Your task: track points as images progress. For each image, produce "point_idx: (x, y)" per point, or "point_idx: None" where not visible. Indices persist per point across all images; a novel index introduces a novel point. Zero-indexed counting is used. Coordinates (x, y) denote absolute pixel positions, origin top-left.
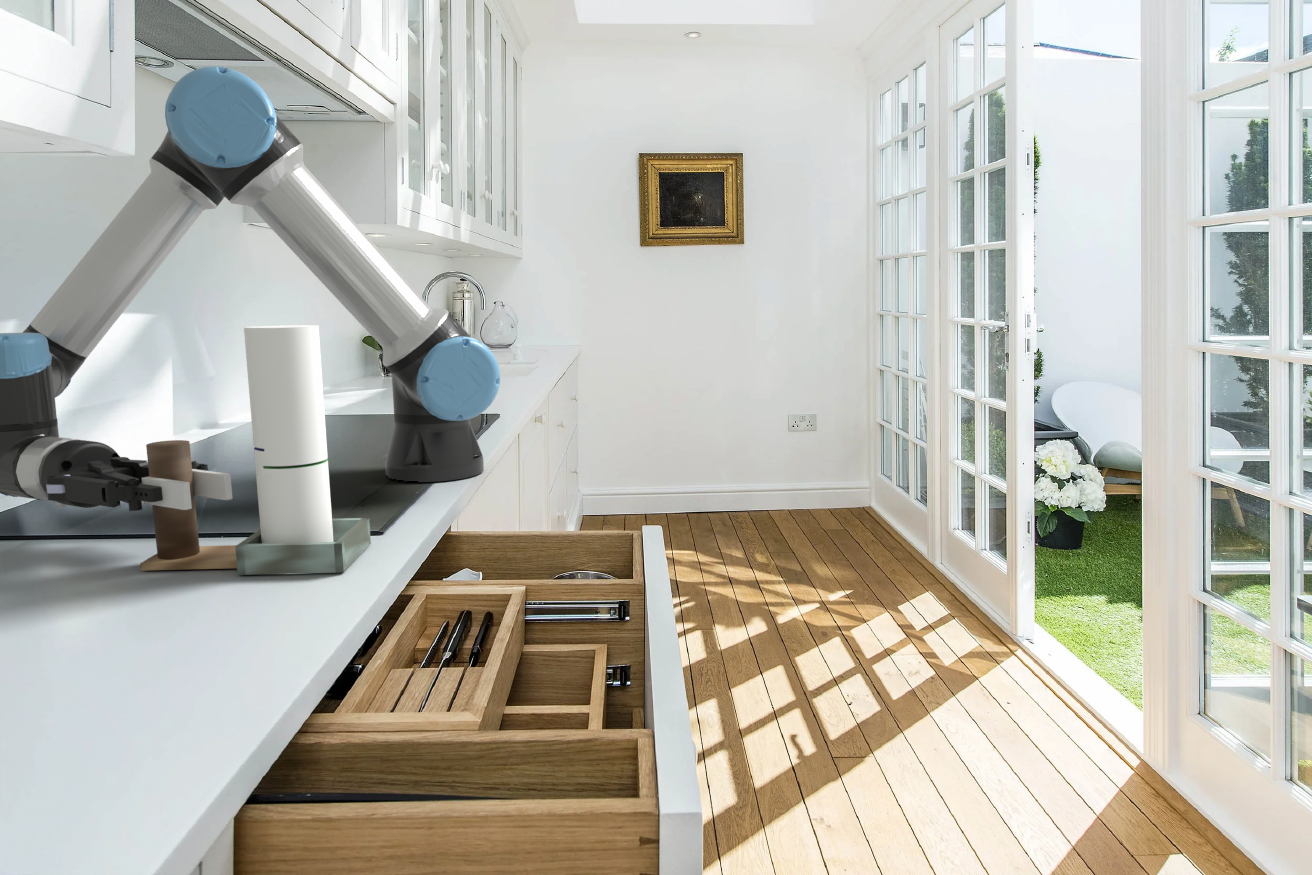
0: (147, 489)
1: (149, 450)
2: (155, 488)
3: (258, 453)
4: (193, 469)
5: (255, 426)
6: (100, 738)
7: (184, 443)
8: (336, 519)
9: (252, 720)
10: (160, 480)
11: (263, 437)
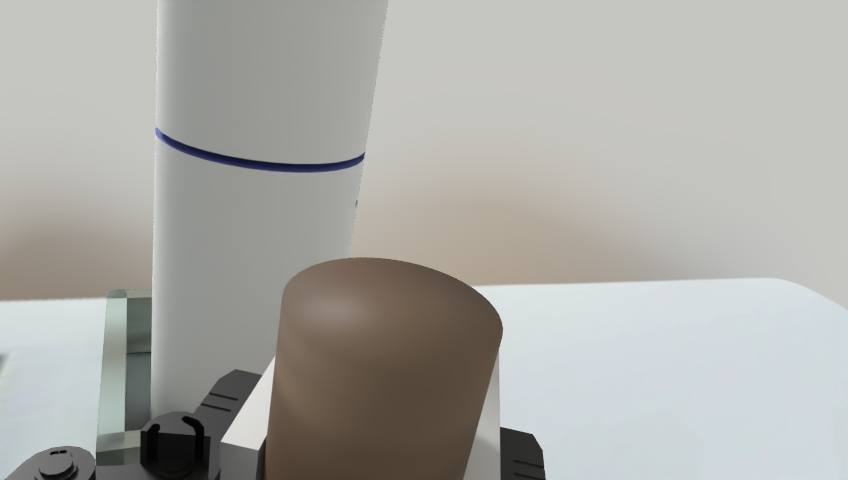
0: (542, 453)
1: (497, 353)
2: (520, 432)
3: (354, 173)
4: (244, 417)
5: (365, 92)
6: (796, 347)
7: (377, 260)
8: (115, 331)
9: (684, 288)
10: (497, 407)
11: (369, 119)
